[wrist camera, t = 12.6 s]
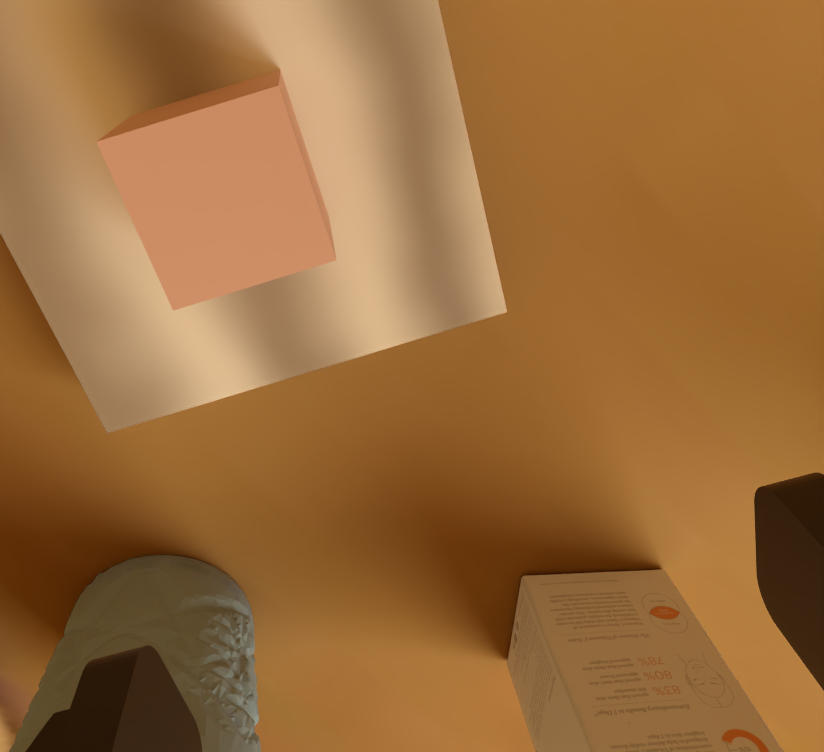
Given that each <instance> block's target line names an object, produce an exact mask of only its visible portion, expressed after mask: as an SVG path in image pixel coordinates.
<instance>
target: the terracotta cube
mask: <svg viewBox="0 0 824 752" xmlns="http://www.w3.org/2000/svg"><path fill="white" fill-rule="evenodd" d="M97 144H98V147H99V149H100V151H101V153H102V155H103V158H104V160H105V162H106V164H107V166H108V169H109V171H110V173H111V175H112V177H113V180H114V182H115V184H116V186H117V188H118V191H119V193H120V195H121V197H122V199H123V202H124V204H125V206H126V208H127V210H128V213H129V215H130V217H131V219H132V221H133V224H134V226H135V228H136V230H137V232H138V235H139V237H140V239H141V241H142V243H143V246H144V248H145V250H146V252H147V254H148V257H149V259H150V261H151V263H152V265H153V267H154V270H155V272H156V274H157V276H158V278H159V281H160V283H161V285H162V287H163V289H164V292H165V294H166V296H167V298H168V300H169V303H170V305H171V307H172V309H173V311H174V310H177V309H181V308H184V307H187V306H190V305H193V304H197V303H200V302H203V301H206V300H210V299H213V298H216V297H219V296H223V295H226V294H229V293H232V292H236V291H239V290H242V289H245V288H248V287H252V286H255V285H258V284H261V283H265V282H268V281H271V280H274V279H278V278H281V277H284V276H287V275H290V274H294V273H297V272H300V271H303V270H307V269H310V268H313V267H316V266H320V265H323V264H326V263H329V262H333V261H336V254H335V248H334V243H333V237H332V231H331V225H330V220H329V215H328V212H327V209H326V206H325V203H324V200H323V197H322V194H321V191H320V188H319V185H318V182H317V179H316V176H315V173H314V170H313V167H312V164H311V161H310V158H309V155H308V151H307V148H306V145H305V142H304V139H303V136H302V133H301V130H300V127H299V124H298V121H297V118H296V115H295V112H294V109H293V106H292V103H291V100H290V97H289V94H288V91H287V88H286V85H285V82H284V79H283V76H282V72H281V70H278V71H274V72H271V73H268V74H265V75H261V76H258V77H255V78H252V79H248V80H245V81H242V82H239V83H235V84H232V85H229V86H226V87H222V88H219V89H216V90H213V91H209V92H206V93H203V94H200V95H196V96H193V97H190V98H187V99H183V100H180V101H177V102H174V103H170V104H167V105H164V106H161V107H157V108H154V109H151V110H148V111H144V112H141V113H138V114H135V115H131V116H130V117H129V118H127V119H126V120H125V121H123V122H122V123H121V124H119V125H118V126H117V127H115V128H114V129H113V130H111V131H110V132H109V133H107V134H106V135H105V136H103V137H102V138H101V139H99V140H98V141H97Z"/></svg>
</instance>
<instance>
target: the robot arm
mask: <svg viewBox="0 0 824 752" xmlns="http://www.w3.org/2000/svg"><path fill="white" fill-rule="evenodd" d="M754 505H755V535H756V566H757V580H758V585H759V589H760V592H761V595H762V598H763V601H764V603H765V606H766V608H767V610H768V612H769V614H770V616H771V618H772V619H773V621H774V623H775V624H776V625H777V627H778V628H779V630H780V631H781V632H782V634H783V635H784V637H785V638H786V639H787V641H788V642H789V643H790V645H791V646H792V648H793V649H794V650H795V652H796V653H797V654H798V656H799V657H800V659H801V660H802V661H803V663H804V664H805V665H806V667H807V668H808V670H809V671H810V672H811V674H812V675H813V676H814V678H815V679H816V681H817V682H818V683H819V685H820V686H821V687H822V689H823V690H824V475H823V474H821V473H812V474H808V475H804V476H800V477H796V478H793V479H789V480H785V481H781V482H777V483H773V484H770V485H766V486H762V487H759V488H758V489H757V490H756V493H755V500H754ZM25 752H202V744H201V738H200V733H199V730H198V726H197V724H196V721H195V719H194V717H193V715H192V713H191V712H190V710H189V708H188V706H187V704H186V702H185V701H184V699H183V697H182V695H181V693H180V691H179V690H178V688H177V686H176V684H175V682H174V681H173V679H172V677H171V675H170V673H169V671H168V670H167V668H166V666H165V664H164V662H163V660H162V659H161V657H160V655H159V654H158V652H157V651H156V650H155V648H153V647H152V646H149V645H148V646H143V647H139V648H135V649H131V650H127V651H123V652H120V653H116V654H112V655H108V656H104V657H101V658H97V659H93V660H91V661H89V662H88V663H87V664H86V666H85V668H84V670H83V672H82V675H81V677H80V680H79V683H78V686H77V689H76V692H75V695H74V698H73V701H72V704H71V706H70V709H67V710H63V711H59V712H56V713H53V715H52V716H51V718H50V719H49V720H48V722H47V723H46V724H45V726H44V727H43V728H42V730H41V731H40V732H39V734H38V735H37V736H36V738H35V739H34V741H33V742H32V743H31V745H30V746H29V747H28V749H27V750H26V751H25Z"/></svg>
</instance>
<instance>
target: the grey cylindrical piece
mask: <svg viewBox="0 0 824 752" xmlns="http://www.w3.org/2000/svg"><path fill="white" fill-rule="evenodd" d="M148 645H149V646H152V647H153V648H155V650H156V651H157V652H158V654H159V655H160V657H161V659H162V660H163V662H164V664H165V666H166V668H167V670H168V671H169V673H170V675H171V677H172V679H173V681H174V682H175V684H176V686H177V688H178V690H179V691H180V693H181V695H182V697H183V699H184V701H185V702H186V704H187V706H188V708H189V710H190V712H191V713H192V715H193V717H194V719H195V721H196V724H197V726H198V730H199V733H200V738H201V744H202V752H261V746H260V740H259V737H258V736H257V735H256V734H255V732H254V730H255V725H256V724H257V723H258V721H259V714H258V706H257V700H258V697H257V688H256V683H257V679H256V675H255V670H254V663H255V659H254V656H253V653H254V650H255V644H254V623H253V617H252V611H251V608H250V605H249V602H248V600H247V598H246V596H245V594H244V592H243V591H242V590H241V589H240V587H239V586H238V585H237V584H236V582H235V581H234V580H233V579H231V578H230V577H229V576H228V575H227V574H225V573H224V572H222V571H220V570H219V569H217V568H216V567H214V566H212V565H209V564H207V563H205V562H202V561H199V560H196V559H192V558H187V557H182V556H174V555H152V556H145V557H138V558H132V559H129V560H126V561H124V562H122V563H120V564H117V565H115V566H113V567H111V568H109V569H108V570H107V571H105V572H104V573H99V574H98V575H97V576H96V578H95V579H94V581H93V582H92V583H91V584H89V585H87V587H86V588H85V590H84V591H83V592H82V594H81V595H80V597H79V598H78V600H77V602H76V604H75V606H74V608H73V610H72V612H71V615H70V617H69V619H68V622H67V625H66V628H65V630H64V637H63V638H61V640H60V641H59V643H58V644H57V646H56V649H55V652H54V654H53V656H52V658H51V659H50V661H49V663H48V665H47V667H46V672H45V674H44V676H43V677H42V679H41V681H40V684H39V690H38V692H37V693H36V695H35V696H34V698H33V699H32V701H31V703H30V705H29V711H28V712H27V714H26V715H25V717H24V720H23V724H22V727H21V728H20V729H19V731H18V733H17V735H16V739H15V742H14V744H13V746H12V748H11V749H10V751H9V752H25V751H26V750H27V749H28V747H29V746H30V745H31V743H32V742H33V741H34V739H35V738H36V736H37V735H38V734H39V732H40V731H41V730H42V728H43V727H44V726H45V724H46V723H47V722H48V720H49V719H50V718H51V716H52V715H53V713H56V712H59V711H63V710H67V709H70V706H71V704H72V701H73V698H74V695H75V692H76V689H77V686H78V683H79V680H80V677H81V675H82V672H83V670H84V668H85V666H86V664H87V663H88V662H89V661H91V660H93V659H97V658H101V657H104V656H108V655H112V654H116V653H120V652H123V651H127V650H131V649H135V648H139V647H143V646H148Z"/></svg>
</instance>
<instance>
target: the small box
mask: <svg viewBox="0 0 824 752" xmlns="http://www.w3.org/2000/svg"><path fill="white" fill-rule="evenodd" d="M507 666H508V669H509V672H510V676H511V678H512V681H513V684H514V687H515V690H516V693H517V696H518V699H519V702H520V705H521V708H522V712H523V715H524V718H525V721H526V724H527V727H528V730H529V733H530V736H531V739H532V742H533V745H534V748H535V750H536V752H784V751H783V750H782V748H781V747H780V745H779V744H778V742H777V741H776V739H775V738H774V736H773V735H772V733H771V731H770V730H769V728H768V727H767V725H766V724H765V722H764V721H763V719H762V718H761V716H760V715H759V713H758V711H757V710H756V708H755V707H754V705H753V704H752V702H751V701H750V699H749V698H748V696H747V695H746V693H745V692H744V690H743V689H742V687H741V686H740V684H739V682H738V681H737V679H736V678H735V677H734V675H733V674H732V672H731V670H730V669H729V668H728V666H727V665H726V663H725V661H724V660H723V658H722V657H721V655H720V653H719V652H718V650H717V649H716V647H715V646H714V644H713V643H712V641H711V640H710V638H709V637H708V635H707V634H706V632H705V630H704V629H703V627H702V626H701V624H700V623H699V621H698V620H697V618H696V617H695V615H694V614H693V612H692V611H691V609H690V608H689V606H688V605H687V603H686V602H685V600H684V599H683V597H682V595H681V594H680V592H679V591H678V589H677V588H676V586H675V585H674V583H673V582H672V580H671V579H670V577H669V576H668V574H667V573H666V571H665V570H663V569H659V570H642V571H619V572H594V573H575V574H551V575H524V576H522V578H521V583H520V589H519V595H518V601H517V607H516V613H515V619H514V625H513V631H512V637H511V644H510V649H509V655H508V661H507Z"/></svg>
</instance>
